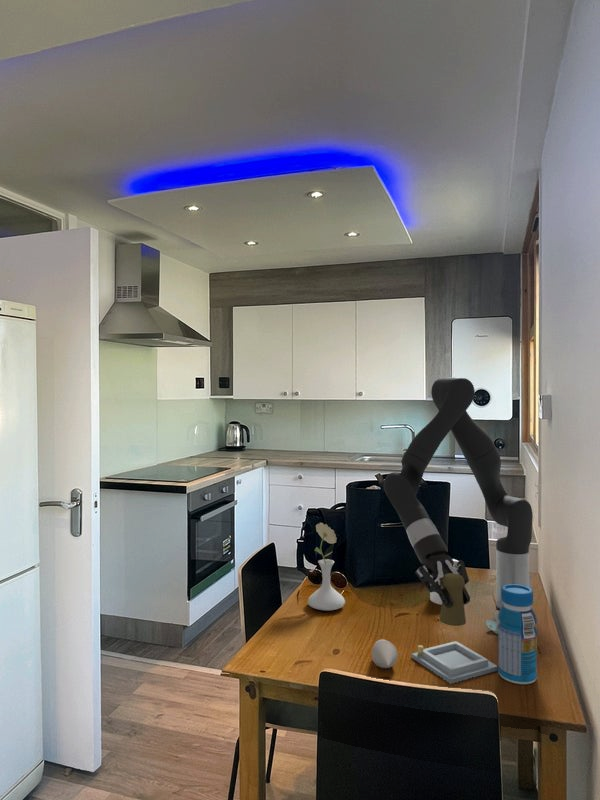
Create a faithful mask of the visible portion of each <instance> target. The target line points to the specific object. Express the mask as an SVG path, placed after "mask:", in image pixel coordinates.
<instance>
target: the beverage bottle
mask: <svg viewBox="0 0 600 800" xmlns="http://www.w3.org/2000/svg"><path fill="white" fill-rule="evenodd" d="M533 591H534V590H533V589H532V588H531V589H530V588H529V587H526V586H523V585H517V584H508V585H504V586H503V587H502V589H501V599H502V602H503V603H504V605H503V606H502V607H501V609H500V608H499V610H498V611H499V614H498V619H499V621H500V622H499V624H498V628H497V630H498V634H497V637H498V638H497V639H498V641H497V645H498V647H497V649H498V650H497V651H498V653H497V654H498V658H497V659H498V661H497V662H498V665H497V666H498V671H497V672H498V674H499V676H500V678H502V679H503V680H505V681H506V682H510V683H512V684H515V685H530V684H533V683H534V682H536V681H537V677H538V674H537V672H538V671H537V670H538V669H537V663H538V662H537V654H538V653H537V650H538V649H537V646H538V644H537V641H538V640H537V639H538V629H537V627H536V625H537V623H538V621H537V617H536V614H535V612H534V611H533V609H532V607H533V604H534V592H533Z"/></svg>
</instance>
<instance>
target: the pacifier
mask: <svg viewBox="0 0 600 800" xmlns="http://www.w3.org/2000/svg"><path fill="white" fill-rule="evenodd" d="M499 611H500V610H494V612H493V618H494V620H492V619H491V620H490V619H487V620H486V621H485V622H486V623H485V624H486V627H487V628H488V630H490V631H493V633H495V635H498V630H497V628H498V624H499V622H500V621H499V619H498V614H499Z"/></svg>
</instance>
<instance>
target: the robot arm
mask: <svg viewBox="0 0 600 800" xmlns="http://www.w3.org/2000/svg"><path fill="white" fill-rule="evenodd" d="M430 393H431V399H432V401H433V403H434V405H435V407H436V408H437V410H438V412H437V413H436V415H435V416H433V418H432V419H431V420H430V422H428V423H427V424H426V425H425V426H424V427H423V428H422V429H421V430H420V431H419V432H418V433H417V434H416V435H415V436H414V438H412V440H411V442H410V443H409V445H408V447H407V449H406V450H405V452H404V454H403V456H402V457H401V467H402V468H401V471H400V472H398V471H396V472H395V471H393V472H390V473H389V474H387V475H386V477H385V478H384V481H383V490H384V492H385V495H386V496H387V499H388V500H389V501H390V504H391V505H392V506H393V508H394V509H395V511H396V513H397V514H398V517H399V519H400V522H401V523H402V526H403V528H404V530H405V532H406V534H407V537H408V540H409V542H410V544H411V546H412V548H413V550H414V552H415V554H416V556H417V558H418V560H419V563H420V564H422V565H420V566H419V567H418V569H417V570H416V571H415V575H416V576H417V578H418V579H419V580H420V582H421V583H422V584H423V585H424V587H425V588H426V589H427V591H428V592H429V593H430V592H436V593H437V594H439V596H440V598H441V600H442V602H443V604H444V605H445V606H446V607H447V608H450V607H451V606H452V605H453V601H452V599H451V597H450V595H449V593H448V591H447V589H445V587H444V585H443V582H442V579H443V576H444V575H445V574H447V573H455V574H459V575H461V576H462V577H463V578H464V581H465V584H464V588H463V589H462V593H463V602H464V606H465V605H468V604H469V603H470V602H471V595H469V592H468V591H467V588H466V587H465V586H466V584H468V583H469V581H470V579H469V576H468V572H467V568H466V565H465V562H464V560H462V559H460V560H457V561H459V562H457V561H453V560H452V559H453V558H452V557H451V556H450V555H449V551H448V550H449V549H448V547H447V546H446V543H445V541H444V540H443V538H442V536H441V534H440V532H439V531H438V529H437V526H436V525H435V524H434V523H433V521H432V520H431V517H430V516H429V514H428V512H427V510H426V508H425V506H423V504H422V503H421V502H420V501H419V499H418V498H417V494H418V491H419V489H420V486H421V484H422V480H423V477H424V473H425V470H426V469H427V467H428V466H429V464H430V462H431V460H432V459H433V458H434V455H435V453H436V452H437V450H438V448H439V447H440V445H441V443H442V442H443V441H444V439H445V438H446V437H447V435H448V434H449V433H450V431H451V432H452V435H453V436H454V439H455V440H456V443H457V444H458V447H459V448H460V451H461V452H462V454H463V457H464V459H465V461H466V462H467V465H468V467H469V468H470V469H469V470H471V472H472V474H473V476H474V478H475V480H476V483H477V485H478V486H479V489H480V491H481V493H482V496H483V499H484V501H485V503H486V507H487V509H488V512H489V515H490V517H491V519H492V520H493V521H494V522H495V523H496V524H498V525H500V526H503V527H507V534H506V536H505V537H503V536H502V537H499V538H497V540H496V542H495V543H496V545H495V547H496V548H495V553H496V555H495V556H496V557H495V559H496V560H495V561H496V562H495V569H496V570H495V571H496V574H495V576H496V578H495V579H496V580H495V586H496V587H495V588H496V591H495V593H496V596H495V598H496V599H495V600H496V602H495V604H496V605H495V606H496V607H497V608H498V609H499V610H500V609H501V607H502V606H503V605H504V603H503V602H502V599H501V589H502V587H503V586H504V585H508V584H517V585H523V586H526V587H529V588H530V589H532V576H531V575H530V553H529V552H530V545H531V543H532V537H533V536H532V535H533V519H534V518H533V509H532V505H531V504H530V502H529V501H528V500H526V499H524V498H519V497H517V496H511V495H509V494H508V493H507V492H506V490H505V488H504V486H503V485H502V481H501V479H500V475H501V469H502V468H501V467H502V466H501V465H502V460H501V456H500V454H499V453H500V452H499V451H498V449H497V447H496V445H495V443H494V442H493V440H492V438H491V437H490V435H489V434H488V433H487V432H486V431H485V430H484V429H483V428H482V427H481V426H480V425H479V424H478V423H477V422H476V421H475V420H474V419H473V418H472V417H471V416H470V414H469V413H468V412H467V409H469V408H470V407H471V404H472V403H473V401H474V398H475V396H476V395H475V393H476V391H475V387H474V384H473V383H472V382H471V380H469V378H466V377H456V376H455V377H441V378H438V379H436V380H435V381H434V382H433V384H432V385H431V390H430ZM453 567H454V568H455V569H454V568H453ZM430 575H431V576H430ZM430 584H431V585H430Z"/></svg>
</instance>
